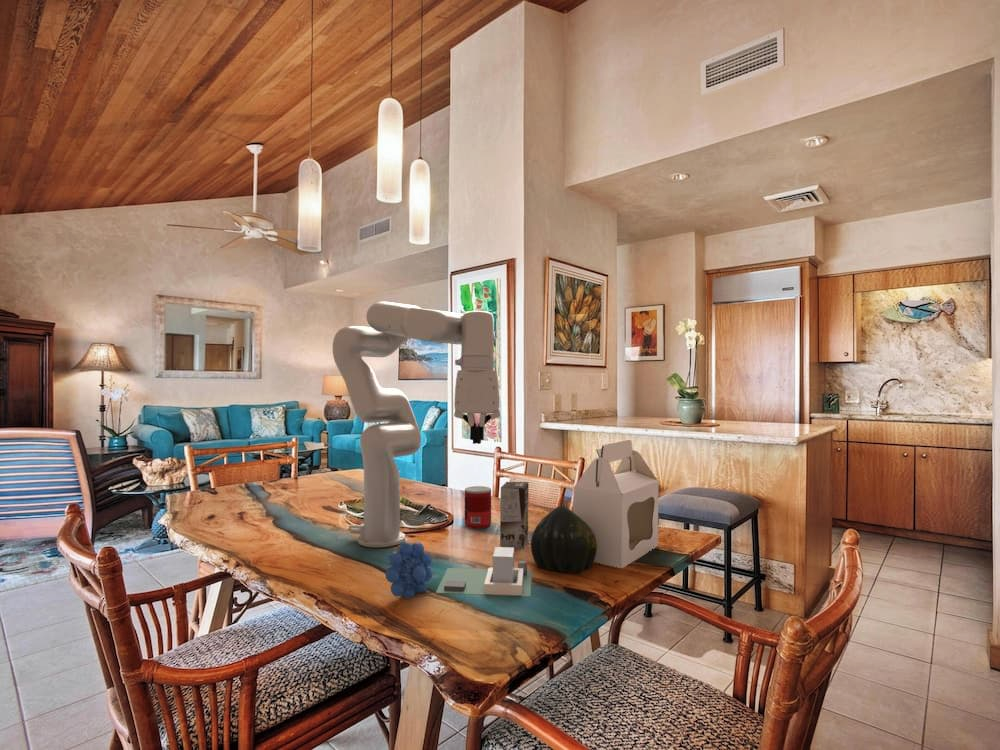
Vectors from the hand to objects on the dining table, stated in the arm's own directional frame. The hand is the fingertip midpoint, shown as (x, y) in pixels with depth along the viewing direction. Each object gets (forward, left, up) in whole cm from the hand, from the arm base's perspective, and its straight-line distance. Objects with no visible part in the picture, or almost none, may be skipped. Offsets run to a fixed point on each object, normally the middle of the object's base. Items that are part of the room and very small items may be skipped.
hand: (477, 443), depth 125 cm
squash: (+20, +1, -29) cm, 36 cm away
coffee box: (+8, +18, -29) cm, 35 cm away
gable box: (+34, +15, -29) cm, 48 cm away
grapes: (-10, -20, -29) cm, 37 cm away
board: (+4, -11, -29) cm, 31 cm away
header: (+8, -13, -28) cm, 32 cm away
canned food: (-4, +36, -29) cm, 47 cm away
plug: (+7, -13, -28) cm, 32 cm away
